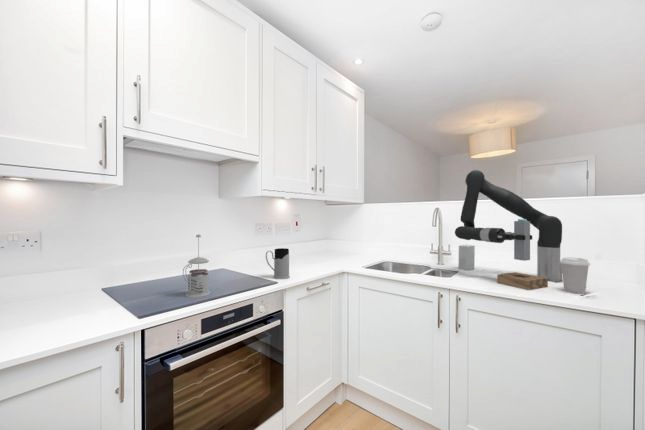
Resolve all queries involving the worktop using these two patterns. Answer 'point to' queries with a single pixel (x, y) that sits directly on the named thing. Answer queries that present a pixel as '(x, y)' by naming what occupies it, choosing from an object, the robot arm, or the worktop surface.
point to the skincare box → (466, 257)
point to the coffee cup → (575, 274)
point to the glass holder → (280, 263)
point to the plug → (522, 245)
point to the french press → (197, 277)
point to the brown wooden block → (522, 280)
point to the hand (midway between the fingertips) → (528, 237)
